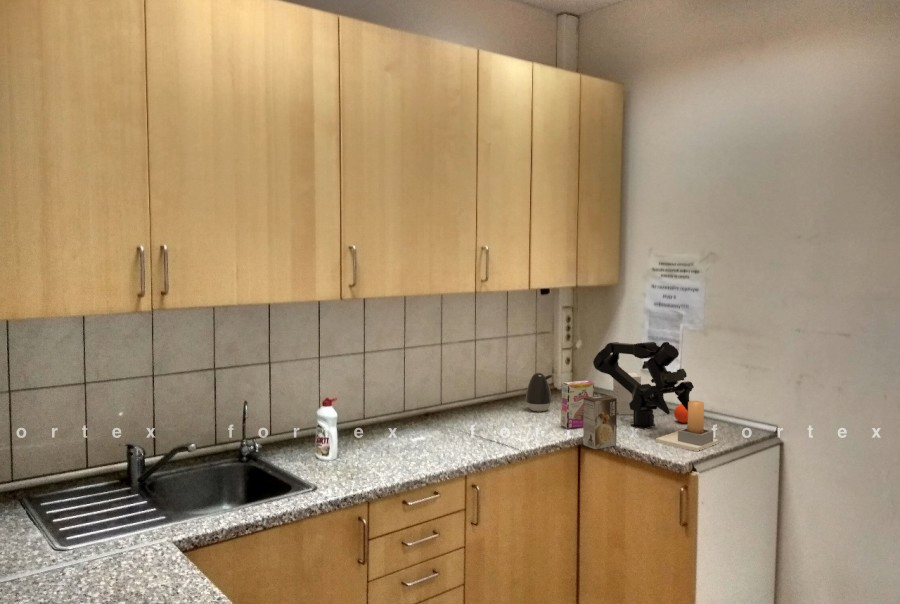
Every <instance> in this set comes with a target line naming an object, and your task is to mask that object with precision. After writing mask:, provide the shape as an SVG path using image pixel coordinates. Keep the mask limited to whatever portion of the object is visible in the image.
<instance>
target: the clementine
mask: <svg viewBox="0 0 900 604" xmlns="http://www.w3.org/2000/svg"><path fill="white" fill-rule="evenodd" d="M673 415H674V417H675V420H677V421H678V422H679V423H682V424H686V423H687V424H688V411H687V410H686V409H685V407H684V406H683V405H682V403H680V404H679V405H677V406H676V407H675V408H674V410H673Z"/></svg>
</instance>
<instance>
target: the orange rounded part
mask: <svg viewBox="0 0 900 604" xmlns="http://www.w3.org/2000/svg"><path fill="white" fill-rule="evenodd" d="M704 424H705V401H700V400H689V402H688V422H687V427H688V432H690V433H695V434H703V433H704V429H705V428H704Z"/></svg>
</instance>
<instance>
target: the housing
mask: <svg viewBox="0 0 900 604" xmlns="http://www.w3.org/2000/svg"><path fill="white" fill-rule="evenodd" d="M655 443H658V444H661V445H662V444H663V445H667V446H671V447H675V448H678V449H679V448H680V449H683V448H684V449H685V450H687V449H689V450H688V451H692V450H694V451H693V452H696V451H698V452H700V451H702V449H703V450H705V449H704V448H706V449H707V447H708V448H710V447H709V446H711V447H713V446H716V445H718V444H719V443H720V441H719V439H715V438H714V430H711V429H705V428H704V433H703V434H695V433H690V432H688V426H687V427H685V428H681V429H679V430H677V431H674V432H672V433H668V434H666V435H663V436H659V437H656V438H655ZM715 444H716V445H715ZM712 445H713V446H712ZM684 449H683V450H684ZM699 450H700V451H699Z"/></svg>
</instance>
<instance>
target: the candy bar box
mask: <svg viewBox="0 0 900 604" xmlns="http://www.w3.org/2000/svg"><path fill="white" fill-rule="evenodd" d="M594 393H595V382H594V381H593V382H592V381H589V380H578V381H577V380H576V381H567V382H566V381H564V382H561V401H560V407H561V409H560V426H561V427H562V428H564V429H566V430H572V429H579V428H580V429H581V428H584V398H586V397H594Z"/></svg>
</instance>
